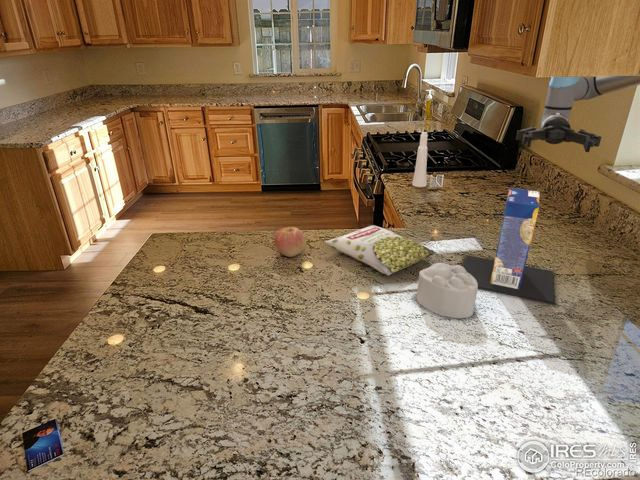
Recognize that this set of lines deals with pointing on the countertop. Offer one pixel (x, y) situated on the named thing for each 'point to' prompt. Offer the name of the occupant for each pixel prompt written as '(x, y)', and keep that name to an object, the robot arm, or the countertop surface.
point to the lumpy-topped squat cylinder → (447, 290)
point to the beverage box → (515, 237)
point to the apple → (289, 241)
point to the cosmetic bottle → (421, 163)
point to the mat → (532, 287)
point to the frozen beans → (381, 249)
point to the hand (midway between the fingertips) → (558, 144)
